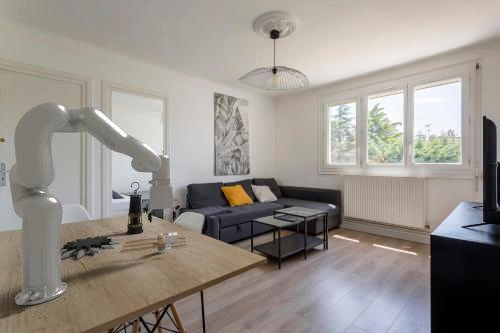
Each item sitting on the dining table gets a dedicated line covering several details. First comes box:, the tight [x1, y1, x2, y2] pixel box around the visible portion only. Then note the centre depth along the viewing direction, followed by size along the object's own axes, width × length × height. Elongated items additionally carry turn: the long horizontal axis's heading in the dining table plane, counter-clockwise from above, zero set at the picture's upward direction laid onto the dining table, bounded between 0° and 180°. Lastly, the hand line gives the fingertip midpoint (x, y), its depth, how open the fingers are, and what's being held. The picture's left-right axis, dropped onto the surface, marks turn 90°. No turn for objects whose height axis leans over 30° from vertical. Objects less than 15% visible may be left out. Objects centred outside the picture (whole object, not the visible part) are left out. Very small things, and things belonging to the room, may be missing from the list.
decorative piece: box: [61, 235, 122, 261], centre depth 121 cm, size 30×4×30 cm
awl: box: [157, 234, 166, 255], centre depth 112 cm, size 3×3×8 cm
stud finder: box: [160, 231, 178, 244], centre depth 127 cm, size 5×8×4 cm, turn 108°
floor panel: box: [118, 235, 187, 255], centre depth 125 cm, size 20×29×1 cm
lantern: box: [126, 181, 144, 236], centre depth 149 cm, size 9×9×30 cm
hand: (162, 221), depth 112 cm, fingers open, 9 cm apart
